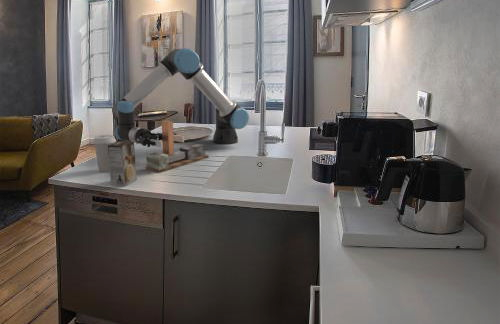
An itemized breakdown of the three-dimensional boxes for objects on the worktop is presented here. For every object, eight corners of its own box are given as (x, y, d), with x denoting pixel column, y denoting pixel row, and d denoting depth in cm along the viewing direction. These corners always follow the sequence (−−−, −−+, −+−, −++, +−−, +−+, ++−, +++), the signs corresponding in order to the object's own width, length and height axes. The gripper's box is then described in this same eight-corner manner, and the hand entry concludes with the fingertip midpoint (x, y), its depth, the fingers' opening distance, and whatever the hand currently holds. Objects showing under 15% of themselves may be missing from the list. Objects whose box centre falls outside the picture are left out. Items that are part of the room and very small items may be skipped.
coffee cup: (108, 166, 172) (105, 133, 168) (123, 169, 167) (120, 136, 163) (90, 171, 164) (87, 137, 160) (105, 174, 159) (102, 140, 155)
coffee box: (122, 178, 155) (119, 140, 151) (137, 179, 154) (134, 141, 149) (110, 185, 146) (107, 145, 142) (125, 186, 145) (122, 146, 141)
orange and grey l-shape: (185, 155, 184) (184, 117, 180) (191, 156, 182) (190, 118, 177) (154, 164, 168) (152, 122, 163) (160, 165, 166) (158, 123, 161)
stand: (195, 155, 194) (194, 142, 193) (208, 157, 190) (208, 144, 188) (145, 169, 168) (144, 154, 166) (159, 172, 163) (158, 157, 161)
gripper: (160, 139, 191) (191, 145, 179) (119, 148, 171) (152, 155, 159) (159, 124, 189) (191, 129, 177) (118, 132, 169) (151, 137, 157)
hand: (172, 141), depth 168 cm, fingers open, 13 cm apart
